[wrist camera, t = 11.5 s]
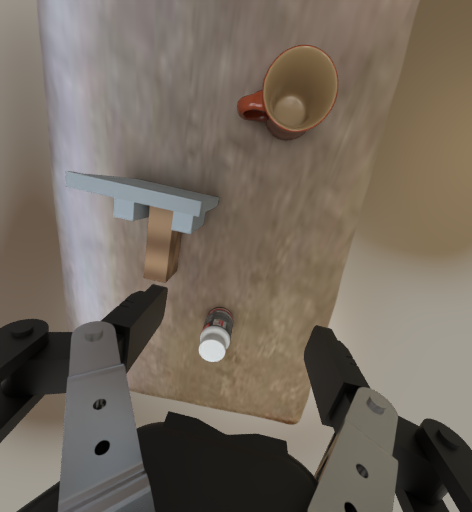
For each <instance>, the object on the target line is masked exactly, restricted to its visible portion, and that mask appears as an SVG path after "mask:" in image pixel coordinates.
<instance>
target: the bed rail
mask: <svg viewBox="0 0 472 512" xmlns="http://www.w3.org/2000/svg"><path fill="white" fill-rule="evenodd" d="M173 212H174V211H171V210H166V209H162V208H158V207H153V206H150V210H149V222H148V234H147V245H146V257H145V268H144V278H145V279H150V280H154V281H159V282H163V283H166V282H167V281H168V280H169V279H170V278H171V277H172V275H173V274H174V273H175V272H176V271H177V264H178V257H179V249H180V242H181V234H182V232H179V231H175V230H171V228H172V220H173Z"/></svg>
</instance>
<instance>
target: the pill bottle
mask: <svg viewBox="0 0 472 512" xmlns="http://www.w3.org/2000/svg"><path fill="white" fill-rule="evenodd" d="M232 327H233V317H232V315H231V313H230V312H229V311H228V310H226V309H223V308H216V309H213V310H212V311H210V312H209V314H208V316H207V318H206V321H205V324H204V327H203V329H202V332H201V335H200V346H199V353H200V355H201V357H202V358H204V359H205V360H207V361H210V362H216V361H219V360H221V359H222V358H223V357H224V355H225V352H226V349H227V348H228V346H229V344H230V339H231V333H232Z"/></svg>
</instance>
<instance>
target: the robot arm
mask: <svg viewBox="0 0 472 512" xmlns="http://www.w3.org/2000/svg"><path fill="white" fill-rule="evenodd" d="M167 292H168V289H167V287H163V286H159V285H155V284H153V285H151V286H150V287H149V288H148V289H147V290H146V291H145V292H143V291H138V292H136V293H133V294H131V295H130V296H129V297H128V298H126V299H125V301H123V302H122V303H121V304H120V305H119V306H117V307H116V308H115V309H114V310H113V311H112V312H110V313H109V314H108V315H107V316H106V317H105V318H104V319H102V320H101V321H95V322H89V323H86V324H83V325H81V326H79V327H78V328H76V329H75V330H74V331H73V332H49V326H48V324H47V323H46V322H45V321H43V320H39V319H26V320H20V321H16V322H13V323H10V324H7V325H5V326H3V327H2V328H0V443H1V442H2V440H3V439H4V438H5V437H6V436H7V435H8V434H9V433H10V432H11V431H12V430H13V429H14V427H15V426H16V425H17V424H18V423H19V422H20V421H21V420H22V419H23V418H24V417H25V416H26V414H27V413H28V412H29V411H30V410H31V409H32V408H33V407H34V406H35V404H37V403H38V402H39V400H40V399H41V398H42V397H43V396H44V395H45V394H57V393H58V394H59V393H66V404H65V418H64V432H63V448H62V461H61V475H60V481H59V482H58V483H56V484H55V485H53V486H52V487H51V488H49V489H48V490H46V491H45V492H43V493H42V494H41V495H39V496H38V497H36V498H35V499H34V500H32V501H31V502H29V503H28V504H26V505H25V506H24V507H22V508H21V509H20V510H18V511H17V512H392V510H393V502H394V495H395V494H396V496H397V498H398V501H399V503H400V506H401V508H402V510H403V512H449V510H448V509H447V507H446V505H445V503H444V501H443V500H442V498H443V497H444V496H445V495H446V494H447V493H448V492H449V494H450V496H451V498H452V499H453V501H454V502H455V504H456V506H457V508H458V509H459V511H460V512H472V450H471V449H470V447H469V446H468V445H467V444H466V442H465V441H464V440H463V439H462V438H461V437H460V436H459V435H458V434H456V433H455V432H454V431H453V430H451V429H450V428H448V427H447V426H445V425H444V424H442V423H440V422H438V421H436V420H433V419H424V420H423V422H422V423H421V425H420V426H418V425H416V424H413V423H411V422H410V421H408V420H406V419H403V418H402V417H400V416H398V414H397V412H396V410H395V408H394V407H393V406H392V404H391V403H390V402H389V401H388V400H387V399H386V398H385V397H384V396H382V395H381V394H380V393H378V392H376V391H375V390H372V389H370V387H369V385H368V383H367V382H366V380H365V378H364V376H363V375H362V373H361V371H360V369H359V367H358V366H357V364H356V362H355V360H354V359H353V357H352V355H351V354H350V352H349V350H348V349H347V348H346V347H345V346H344V345H343V344H342V343H341V341H338V340H337V338H336V337H335V335H334V333H333V331H332V329H330V328H326V327H322V326H318V325H316V326H315V327H314V328H313V331H312V333H311V336H310V338H309V341H308V343H307V345H306V348H305V351H304V362H305V365H306V369H307V372H308V376H309V379H310V383H311V386H312V390H313V393H314V397H315V400H316V404H317V408H318V411H319V415H320V418H321V422H322V424H323V425H326V426H330V427H333V428H334V431H335V433H334V434H333V436H332V438H331V440H330V443H329V445H328V447H327V449H326V451H325V453H324V456H323V458H322V460H321V462H320V464H319V467H318V469H317V471H316V473H315V475H314V476H313V475H312V474H311V472H309V470H308V469H307V468H306V467H305V466H304V465H302V464H301V463H300V462H299V461H298V460H296V459H295V458H294V457H292V456H291V455H289V454H288V451H287V442H286V441H284V440H280V439H276V438H272V437H268V436H264V435H260V434H239V435H226V434H224V433H222V432H220V431H218V430H217V429H215V428H213V427H211V426H210V425H208V424H206V423H204V422H202V421H201V420H199V419H197V418H193V417H189V416H185V415H181V414H177V413H173V412H168V414H167V416H166V419H165V422H157V423H151V424H148V425H144V426H142V427H139V428H137V429H136V424H135V419H134V414H133V408H132V402H131V397H130V391H129V386H128V381H127V375H126V374H127V372H128V371H129V369H130V368H131V366H132V365H133V363H134V362H135V360H136V359H137V358H138V356H139V355H140V353H141V352H142V350H143V349H144V347H145V346H146V344H147V343H148V341H149V340H150V339H151V337H152V336H153V334H154V333H155V331H156V330H157V328H158V327H159V325H160V324H161V322H162V319H163V317H164V312H165V306H166V299H167Z"/></svg>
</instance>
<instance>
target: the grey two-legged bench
mask: <svg viewBox="0 0 472 512" xmlns="http://www.w3.org/2000/svg"><path fill="white" fill-rule="evenodd" d="M66 187H69V188H74V189H78V190H83V191H87V192H91V193H96V194H100V195H105V196H109V197H114V217H117V218H122V219H126V220H131V221H135V220H138V219H142V218H146V217H149V210H150V206H153V207H158V208H162V209H166V210H171V211H174V212H173V220H172V228H171V230H175V231H179V232H183V233H188V234H191V233H193V232H194V231H196V230H197V229H198V228H200V227H201V226H203V225H204V219H205V213H206V211H209V210H211V209H213V208H215V207H217V206H218V201H219V197H215V196H211V195H206V194H202V193H197V192H193V191H188V190H184V189H179V188H175V187H171V186H166V185H162V184H157V183H153V182H148V181H144V180H139V179H135V178H125V177H114V176H103V175H92V174H81V173H77V172H70V171H66Z"/></svg>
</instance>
